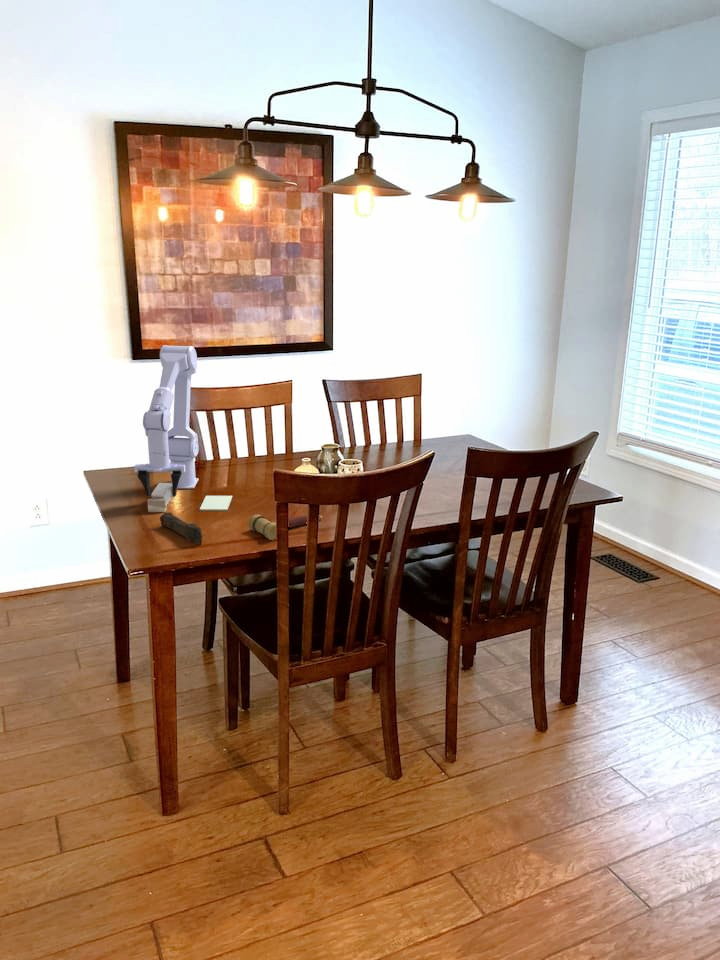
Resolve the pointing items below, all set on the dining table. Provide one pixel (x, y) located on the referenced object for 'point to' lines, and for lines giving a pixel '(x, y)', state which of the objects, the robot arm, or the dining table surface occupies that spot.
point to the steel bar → (162, 492)
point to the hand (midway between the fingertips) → (161, 495)
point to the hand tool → (182, 528)
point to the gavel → (273, 525)
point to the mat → (216, 503)
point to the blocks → (157, 504)
